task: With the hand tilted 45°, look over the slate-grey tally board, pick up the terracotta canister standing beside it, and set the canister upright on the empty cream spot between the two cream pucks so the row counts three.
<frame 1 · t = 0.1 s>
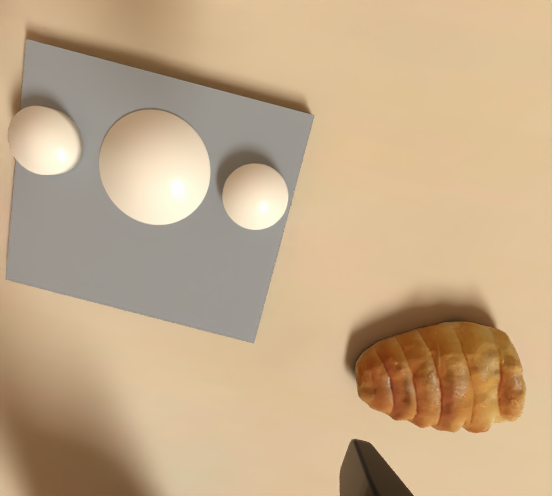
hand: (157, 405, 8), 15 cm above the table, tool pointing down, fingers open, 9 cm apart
pastry: (434, 365, 24), on the table
tally board: (155, 201, 22), on the table
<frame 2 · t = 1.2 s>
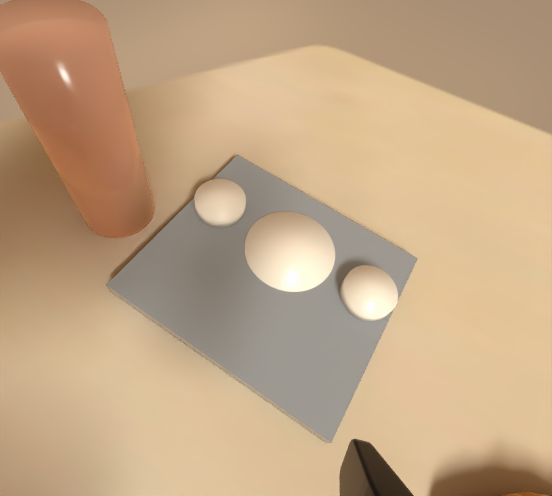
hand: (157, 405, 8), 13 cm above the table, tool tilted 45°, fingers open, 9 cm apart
tally board: (273, 276, 25), on the table
canister: (119, 209, 26), on the table
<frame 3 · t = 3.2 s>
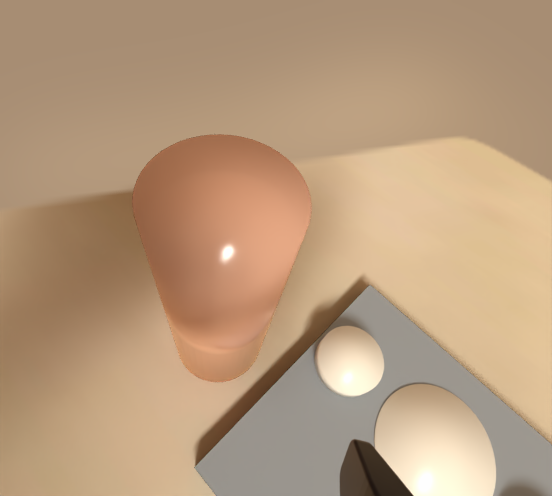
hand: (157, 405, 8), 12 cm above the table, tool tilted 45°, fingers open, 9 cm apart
tally board: (404, 482, 18), on the table
canister: (219, 338, 21), on the table
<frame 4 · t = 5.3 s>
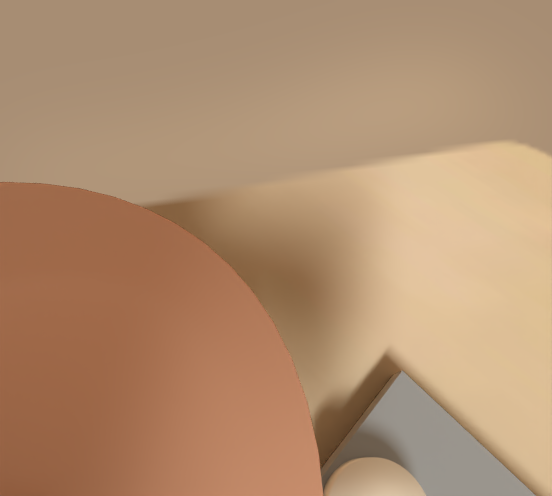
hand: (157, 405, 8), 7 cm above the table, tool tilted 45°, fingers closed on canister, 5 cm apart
canister: (167, 470, 13), on the table, touching gripper
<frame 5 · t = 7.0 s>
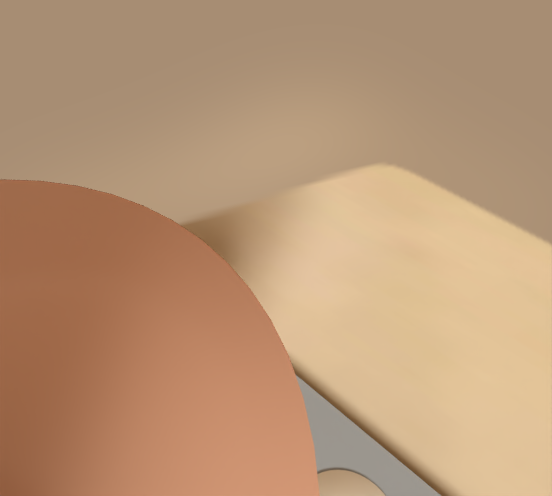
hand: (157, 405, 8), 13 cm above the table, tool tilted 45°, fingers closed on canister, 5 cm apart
canister: (167, 469, 13), point 7 cm above the table, touching gripper
when the fingers open (9 cm above the table, at t = 9.0 s): canister drops 1 cm, resting on tally board.
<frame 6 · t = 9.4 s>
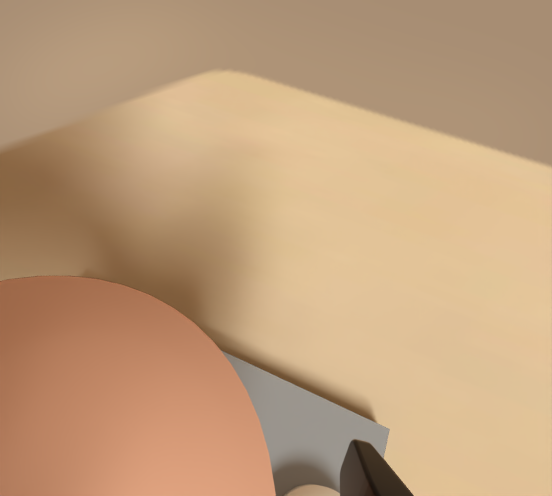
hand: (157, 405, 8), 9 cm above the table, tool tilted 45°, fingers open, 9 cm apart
canister: (171, 471, 14), point 1 cm above the table, touching tally board
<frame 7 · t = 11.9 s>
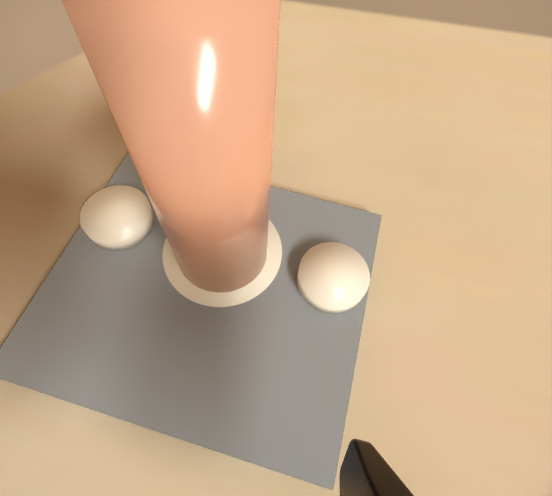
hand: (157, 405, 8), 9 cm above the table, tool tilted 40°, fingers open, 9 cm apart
tally board: (211, 290, 20), on the table
canister: (222, 250, 19), point 1 cm above the table, touching tally board
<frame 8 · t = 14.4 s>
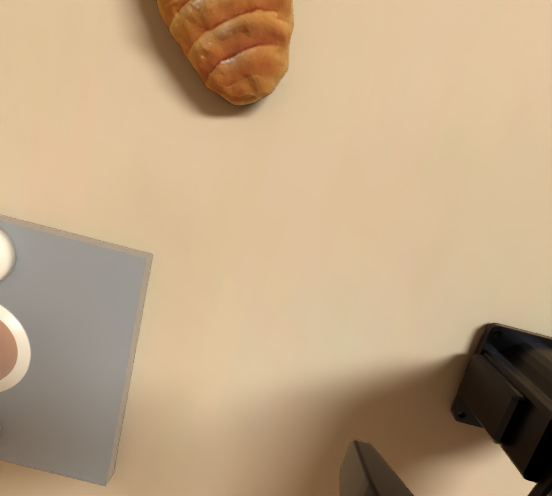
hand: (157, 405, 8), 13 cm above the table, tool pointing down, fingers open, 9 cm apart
tally board: (23, 345, 23), on the table
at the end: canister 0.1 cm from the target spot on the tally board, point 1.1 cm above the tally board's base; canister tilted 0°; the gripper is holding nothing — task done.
